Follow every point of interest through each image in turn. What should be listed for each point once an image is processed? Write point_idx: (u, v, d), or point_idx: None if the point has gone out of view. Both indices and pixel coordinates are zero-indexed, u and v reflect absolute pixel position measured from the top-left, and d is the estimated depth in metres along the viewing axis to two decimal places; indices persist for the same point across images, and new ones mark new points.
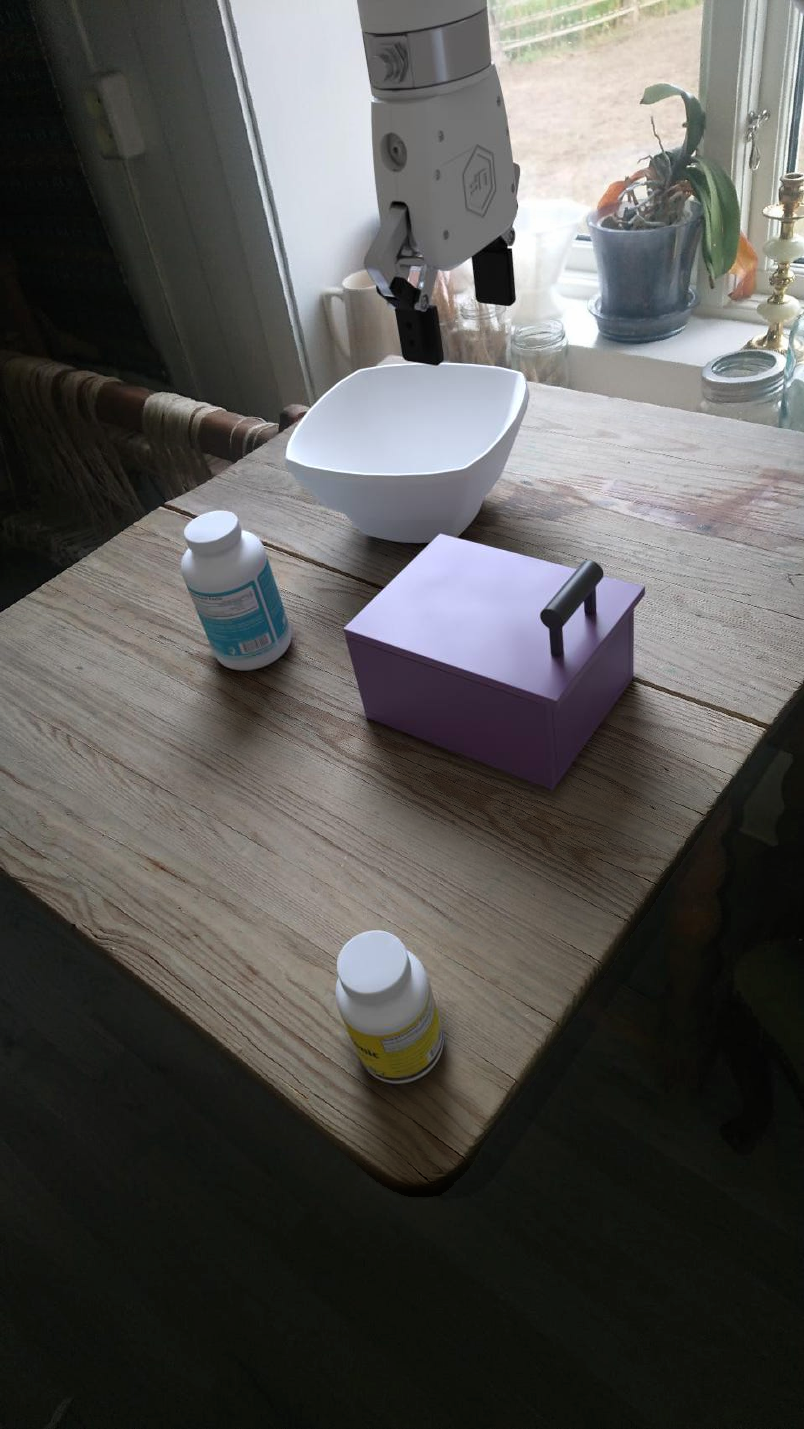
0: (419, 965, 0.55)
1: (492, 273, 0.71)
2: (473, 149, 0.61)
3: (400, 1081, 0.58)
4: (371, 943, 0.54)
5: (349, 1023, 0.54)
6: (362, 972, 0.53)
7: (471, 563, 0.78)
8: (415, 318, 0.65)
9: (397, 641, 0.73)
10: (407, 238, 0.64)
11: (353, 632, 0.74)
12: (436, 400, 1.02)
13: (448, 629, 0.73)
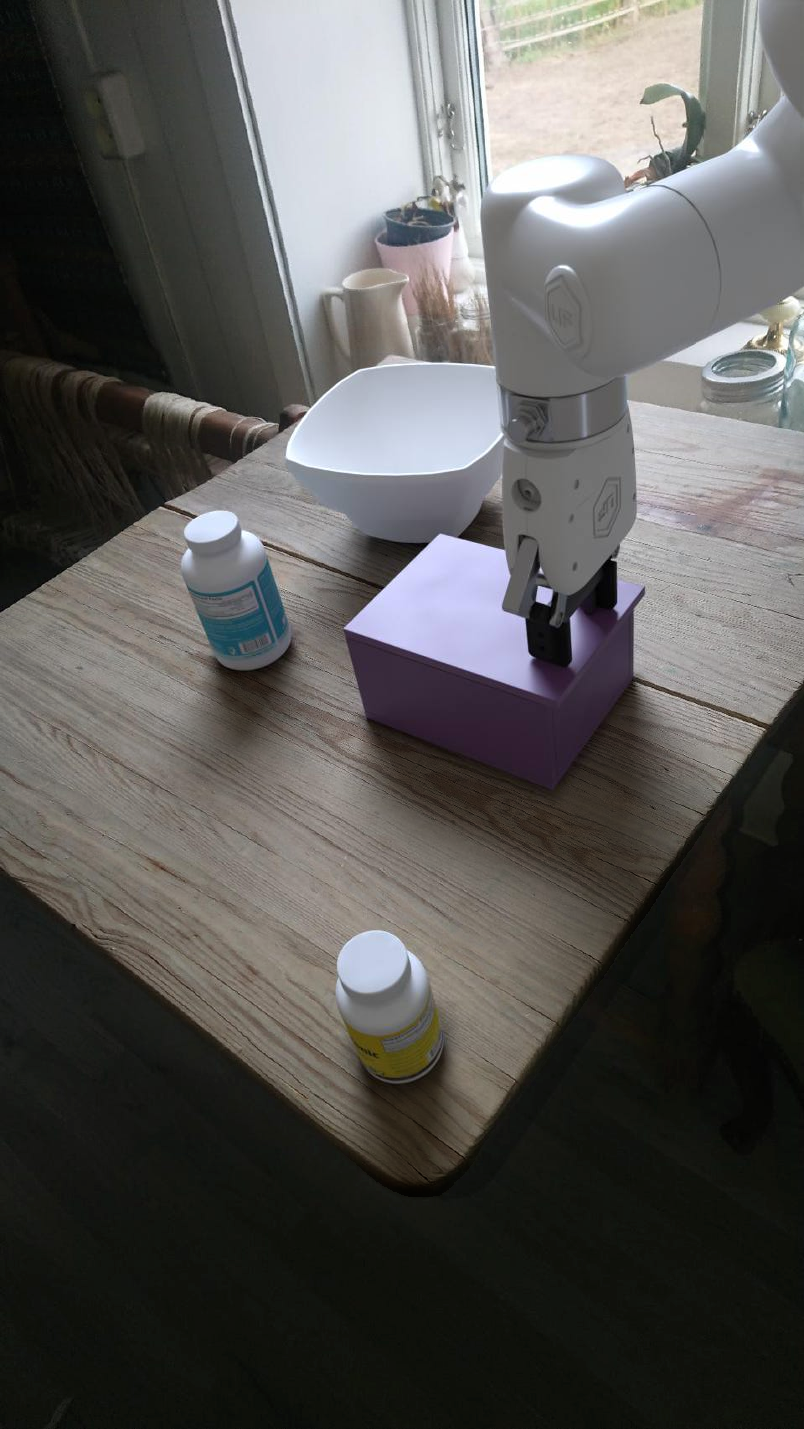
0: (419, 965, 0.55)
1: None
2: (604, 483, 0.59)
3: (400, 1081, 0.58)
4: (371, 943, 0.54)
5: (349, 1023, 0.54)
6: (362, 972, 0.53)
7: (471, 563, 0.78)
8: (548, 630, 0.65)
9: (397, 641, 0.73)
10: None
11: (353, 632, 0.74)
12: (436, 400, 1.02)
13: (448, 629, 0.73)
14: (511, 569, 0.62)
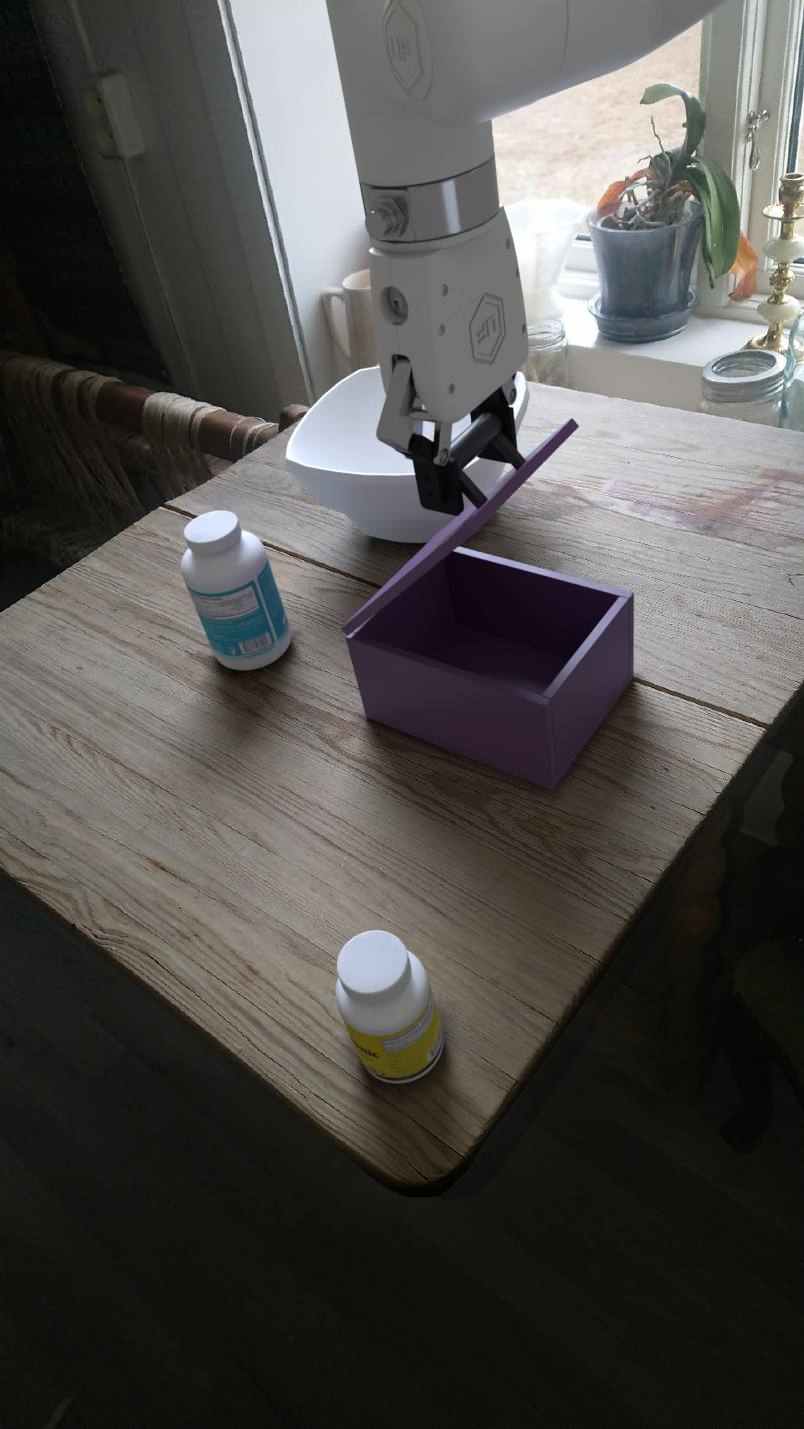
0: (419, 965, 0.55)
1: None
2: (480, 298, 0.56)
3: (400, 1081, 0.58)
4: (371, 943, 0.54)
5: (349, 1023, 0.54)
6: (362, 972, 0.53)
7: None
8: (434, 471, 0.61)
9: None
10: None
11: (346, 624, 0.74)
12: None
13: None
14: None
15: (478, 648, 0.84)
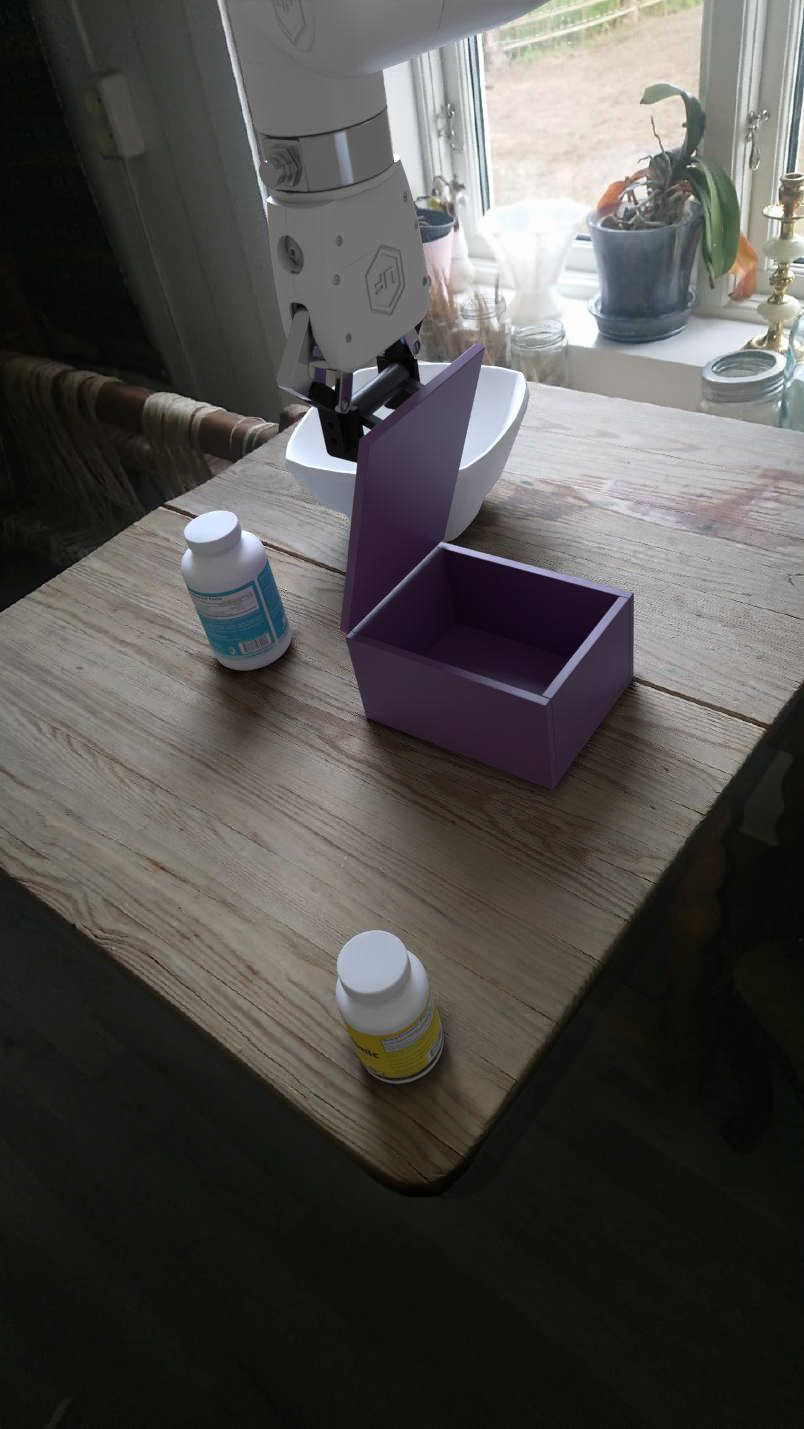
0: (419, 965, 0.55)
1: None
2: (377, 249, 0.58)
3: (400, 1081, 0.58)
4: (371, 943, 0.54)
5: (349, 1023, 0.54)
6: (362, 972, 0.53)
7: None
8: (336, 419, 0.64)
9: None
10: None
11: None
12: None
13: None
14: None
15: (478, 648, 0.84)
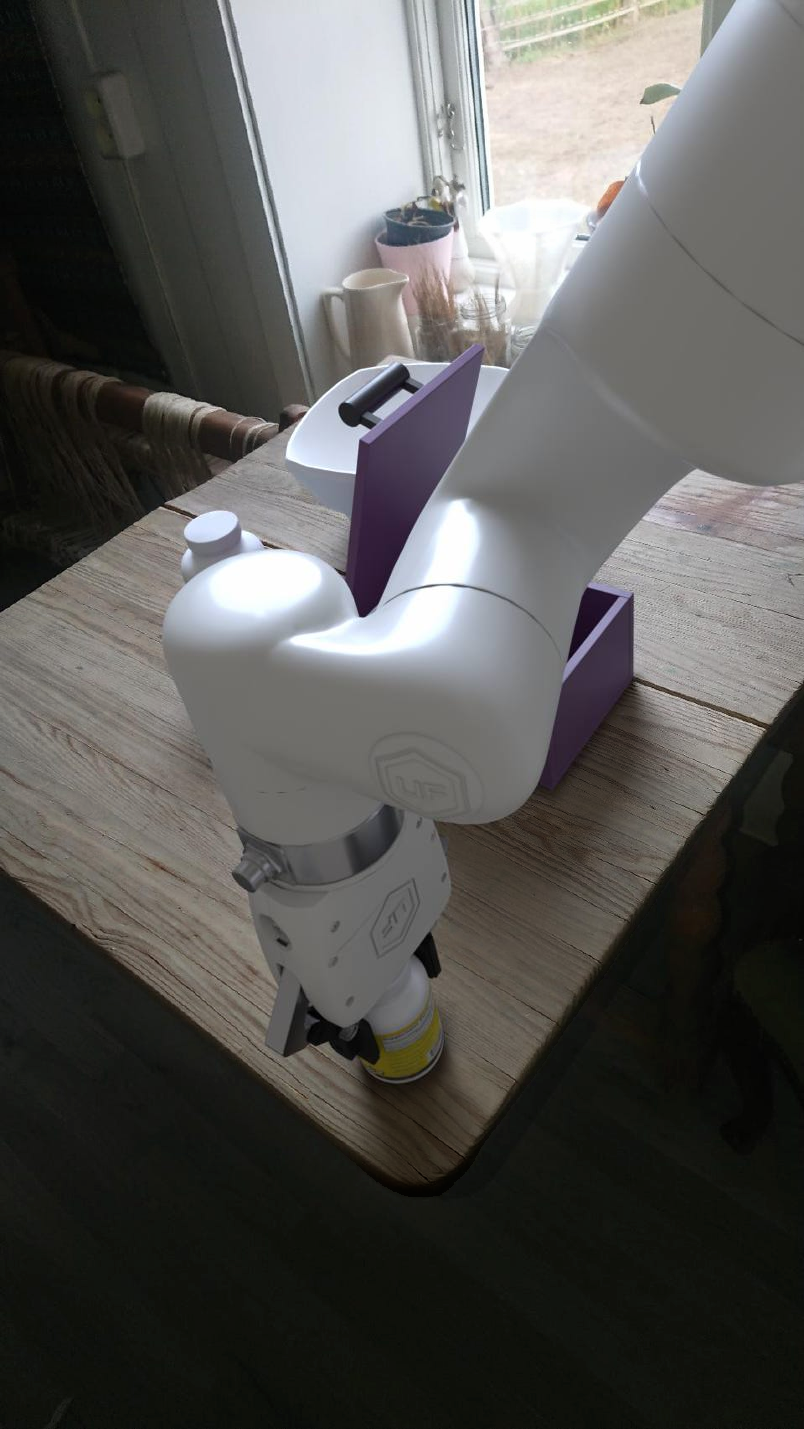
0: (419, 964, 0.55)
1: None
2: (384, 900, 0.46)
3: (400, 1081, 0.58)
4: None
5: None
6: None
7: None
8: (341, 1038, 0.52)
9: None
10: None
11: None
12: None
13: None
14: None
15: None
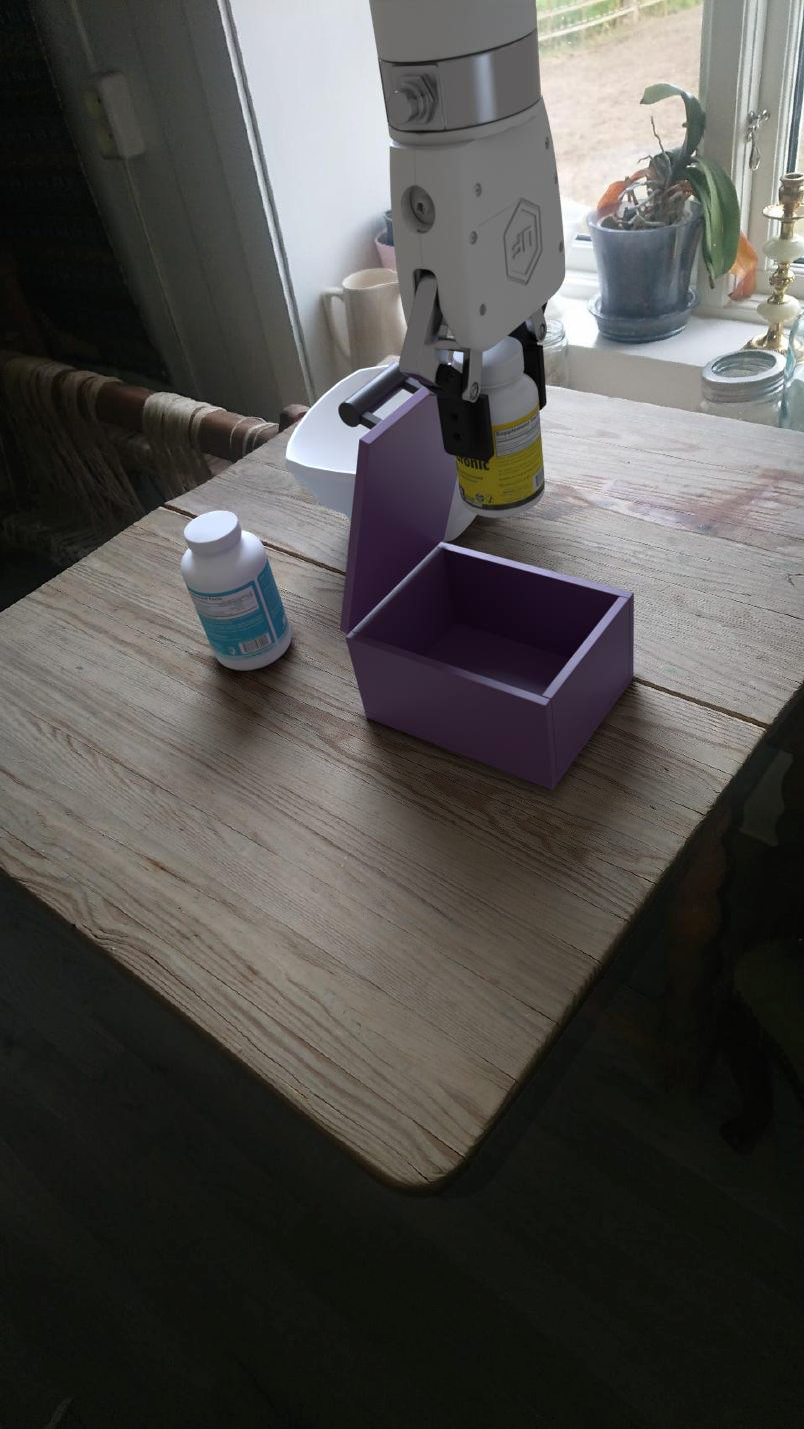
0: (528, 376, 0.58)
1: None
2: (517, 203, 0.49)
3: (506, 510, 0.60)
4: None
5: None
6: None
7: None
8: (462, 409, 0.54)
9: None
10: None
11: None
12: None
13: None
14: None
15: (478, 648, 0.84)
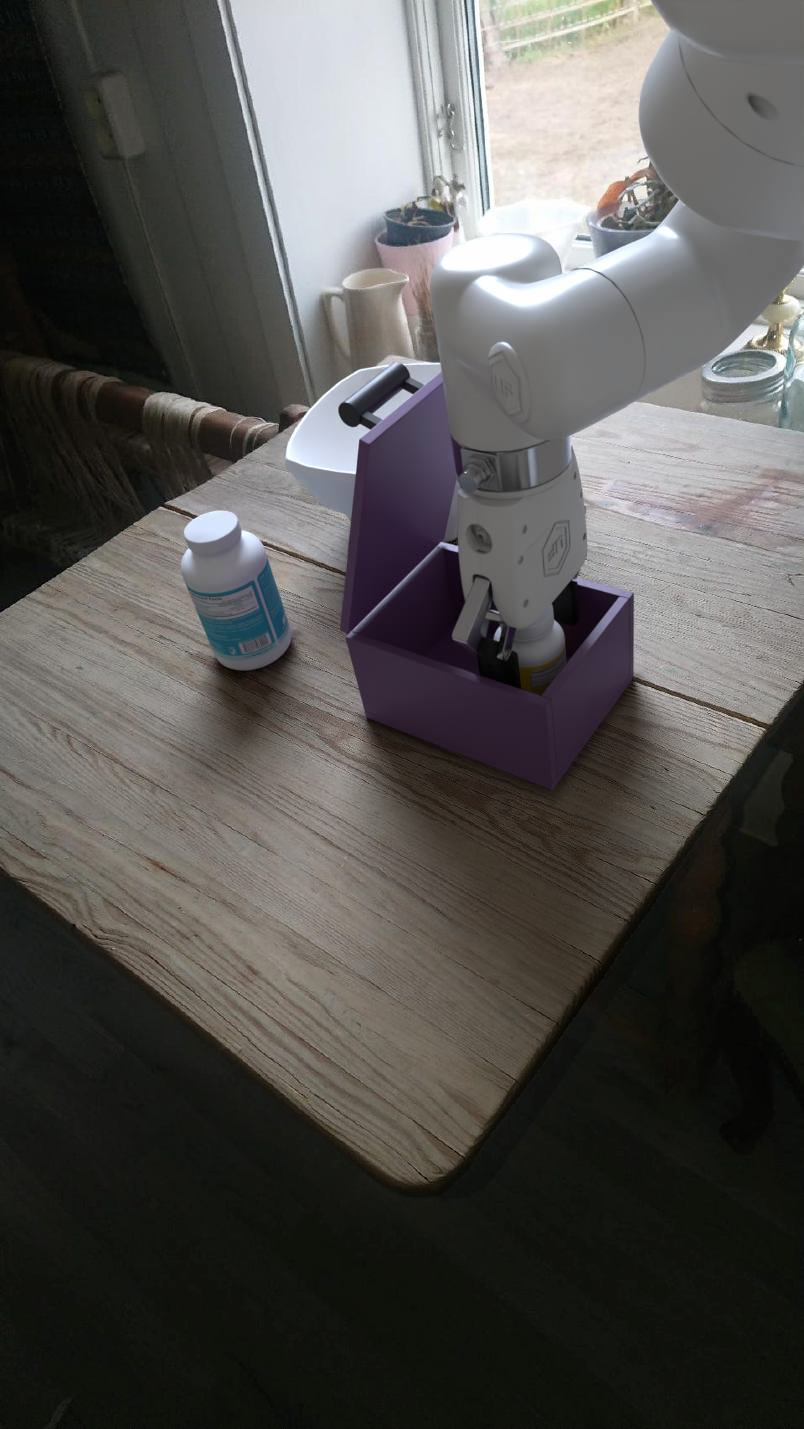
0: None
1: (557, 599, 0.75)
2: (552, 526, 0.64)
3: None
4: None
5: None
6: None
7: None
8: (497, 664, 0.69)
9: None
10: None
11: None
12: None
13: None
14: None
15: None
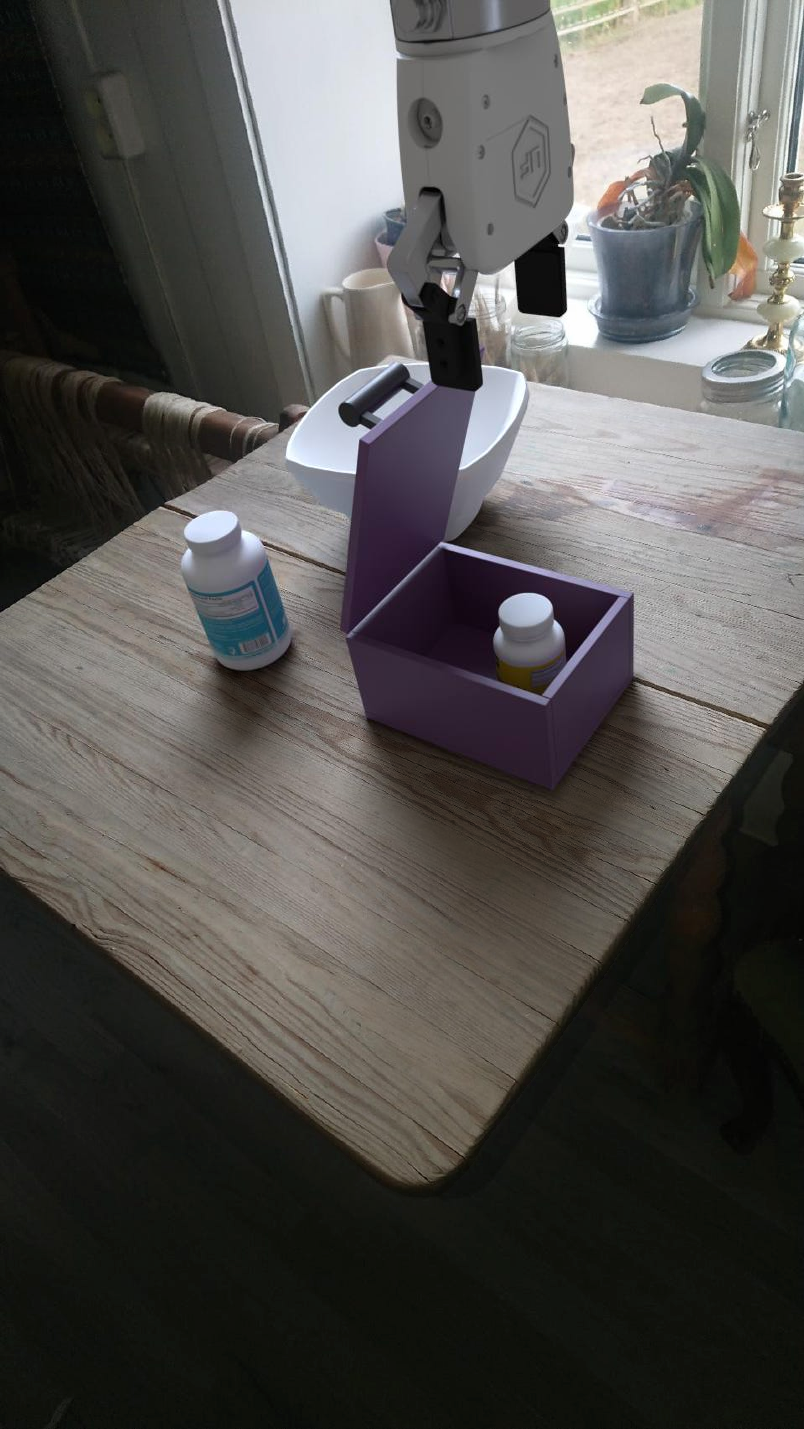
0: None
1: (539, 277, 0.58)
2: (525, 120, 0.48)
3: None
4: (523, 600, 0.72)
5: (506, 660, 0.72)
6: (519, 616, 0.71)
7: None
8: (449, 334, 0.52)
9: None
10: (439, 234, 0.51)
11: None
12: None
13: None
14: None
15: (478, 648, 0.84)
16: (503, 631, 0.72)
